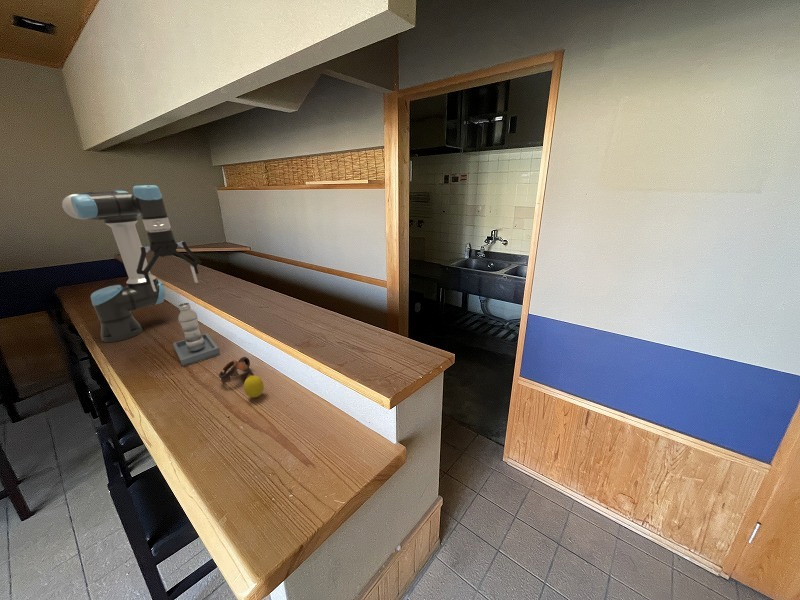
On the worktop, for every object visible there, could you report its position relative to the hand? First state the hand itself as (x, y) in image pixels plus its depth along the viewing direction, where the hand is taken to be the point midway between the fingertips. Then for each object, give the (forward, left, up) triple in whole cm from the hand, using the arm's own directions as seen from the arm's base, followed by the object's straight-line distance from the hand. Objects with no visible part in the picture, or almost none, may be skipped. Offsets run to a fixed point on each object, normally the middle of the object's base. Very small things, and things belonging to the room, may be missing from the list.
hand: (176, 286), depth 123 cm
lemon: (+50, +8, -29) cm, 58 cm away
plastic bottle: (0, +1, -28) cm, 28 cm away
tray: (0, 0, -29) cm, 29 cm away
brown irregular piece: (+35, +7, -29) cm, 46 cm away
